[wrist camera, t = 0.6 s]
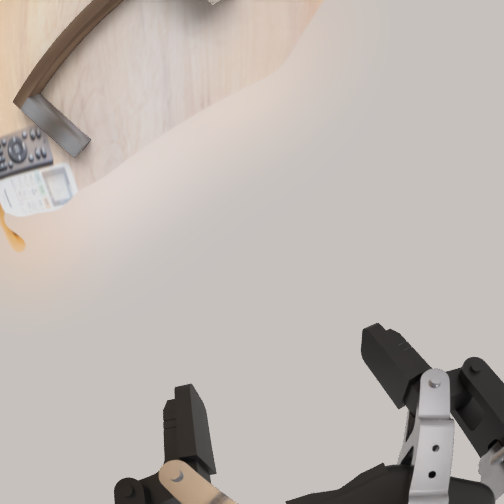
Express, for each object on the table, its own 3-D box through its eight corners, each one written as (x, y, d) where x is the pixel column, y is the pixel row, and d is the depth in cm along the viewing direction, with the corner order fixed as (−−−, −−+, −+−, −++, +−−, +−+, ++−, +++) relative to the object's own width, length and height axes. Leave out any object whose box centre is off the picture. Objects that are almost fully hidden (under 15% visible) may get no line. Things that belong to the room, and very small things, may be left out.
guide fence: (25, 97, 20) (12, 101, 18) (187, -58, 14) (187, -68, 11) (82, 149, 27) (74, 157, 24) (250, 0, 20) (257, -5, 18)
